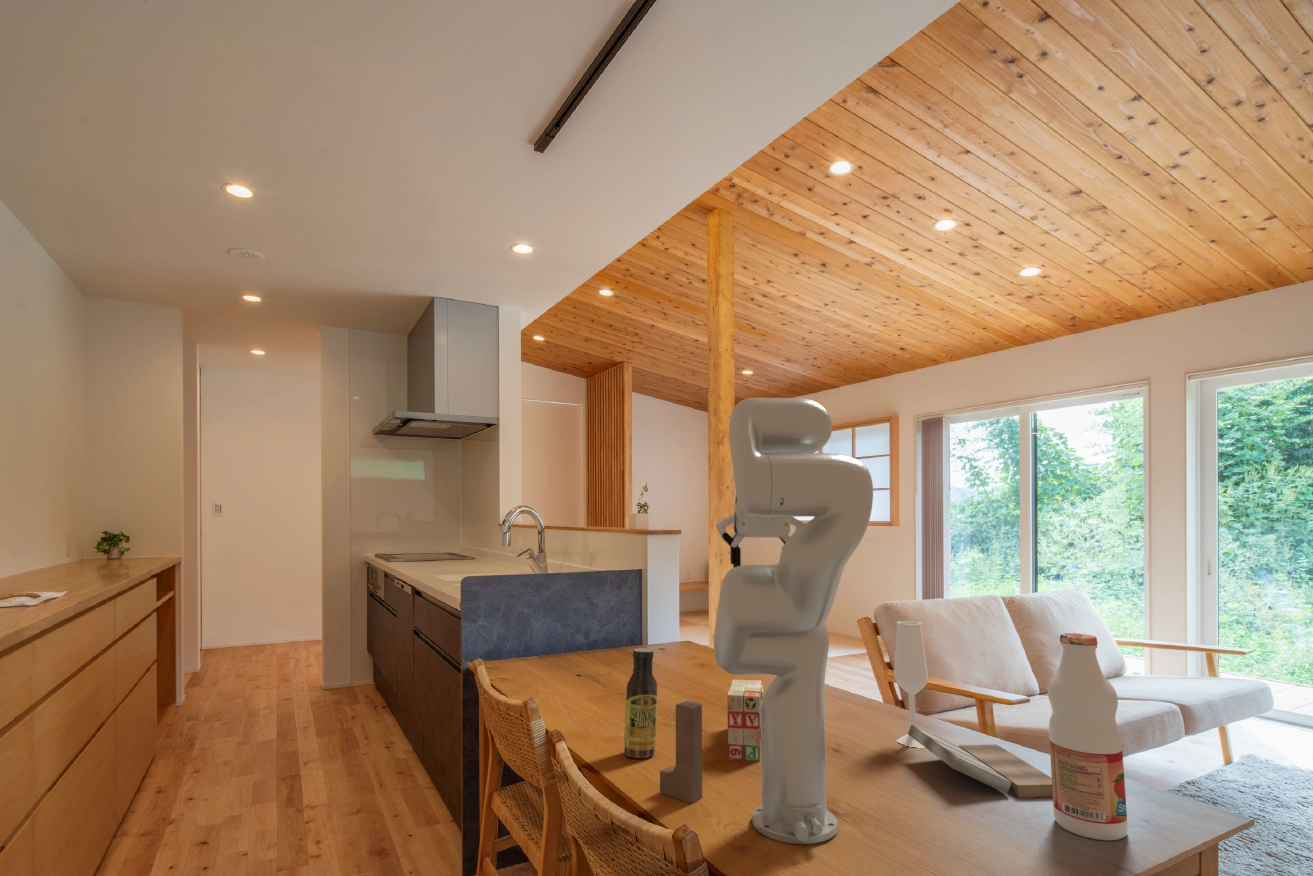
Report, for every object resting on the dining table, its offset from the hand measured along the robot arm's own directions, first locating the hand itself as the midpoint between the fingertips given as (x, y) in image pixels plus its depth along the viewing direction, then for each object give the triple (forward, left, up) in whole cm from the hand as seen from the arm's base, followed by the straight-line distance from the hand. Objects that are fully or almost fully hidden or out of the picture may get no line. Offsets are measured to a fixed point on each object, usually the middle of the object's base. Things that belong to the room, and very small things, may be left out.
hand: (761, 568), depth 131 cm
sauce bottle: (+8, +23, -37) cm, 44 cm away
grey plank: (-6, -33, -34) cm, 48 cm away
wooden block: (-12, +17, -37) cm, 42 cm away
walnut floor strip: (-6, -43, -36) cm, 56 cm away
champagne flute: (+12, -33, -37) cm, 51 cm away
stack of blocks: (+14, +1, -37) cm, 39 cm away
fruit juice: (-27, -43, -37) cm, 63 cm away
